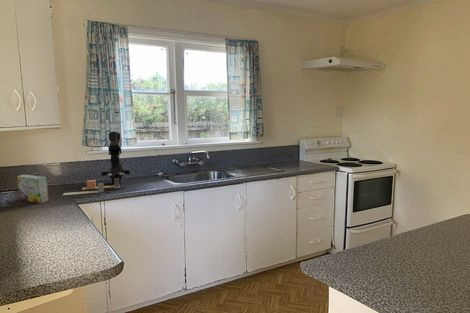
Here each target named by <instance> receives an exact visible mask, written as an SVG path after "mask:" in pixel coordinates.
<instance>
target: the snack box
mask: <svg viewBox="0 0 470 313" xmlns="http://www.w3.org/2000/svg"><path fill="white" fill-rule="evenodd" d="M16 177H17V185H18V186H17V187H18V193H19V199H20V200H21V201H26V202H32V203H37V204H45V203H47V202H48V203H49V201H50V200H49V193H48V192H49V191H48V183H47V182H48V181H47V177H46V176H39V175H32V174H21V175H17V176H16Z"/></svg>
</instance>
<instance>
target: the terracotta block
mask: <svg viewBox="0 0 470 313" xmlns="http://www.w3.org/2000/svg"><path fill="white" fill-rule="evenodd" d="M86 187H87V189H86V190H94V188H96V187H97V182H96V179H87V180H86Z"/></svg>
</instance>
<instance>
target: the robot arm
mask: <svg viewBox="0 0 470 313" xmlns="http://www.w3.org/2000/svg"><path fill="white" fill-rule="evenodd" d="M121 139H122V138H121V132H118V131H110V132H109V133H108V140H109V146H107V147H108V156H110V159H109V161H110V163H111V164H110V171H109V170H102V171H101V172H100V173H101V175H100V176H101V177H102V176H103V177H104V176H105V177H106V176H108V177H109V178H110V180H111V184H112V185H114V179H116V178H119V184H120V185H122V184H123V179H122V177H124V176H125V175H131V168H130V169H129V168H128V169H127V168H126V169H124V168H123V166H122V163H121V161H120V160H121V159H120V155H121V154H122V147H121V145H120V142H121ZM110 142H111V143H110Z"/></svg>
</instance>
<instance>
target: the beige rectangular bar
mask: <svg viewBox="0 0 470 313" xmlns="http://www.w3.org/2000/svg"><path fill="white" fill-rule="evenodd" d="M120 185H121V184H119V178H116V179H114V184H113V185H104V189H107V190H110V189H111V190H112V189H119V188H120V187H121V186H120ZM94 189H95V190H96V189H97V190H98V186H96V188H94ZM94 189H93V190H94ZM82 190H88V189H87V186H86V187H82V188H81V191H82Z"/></svg>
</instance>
